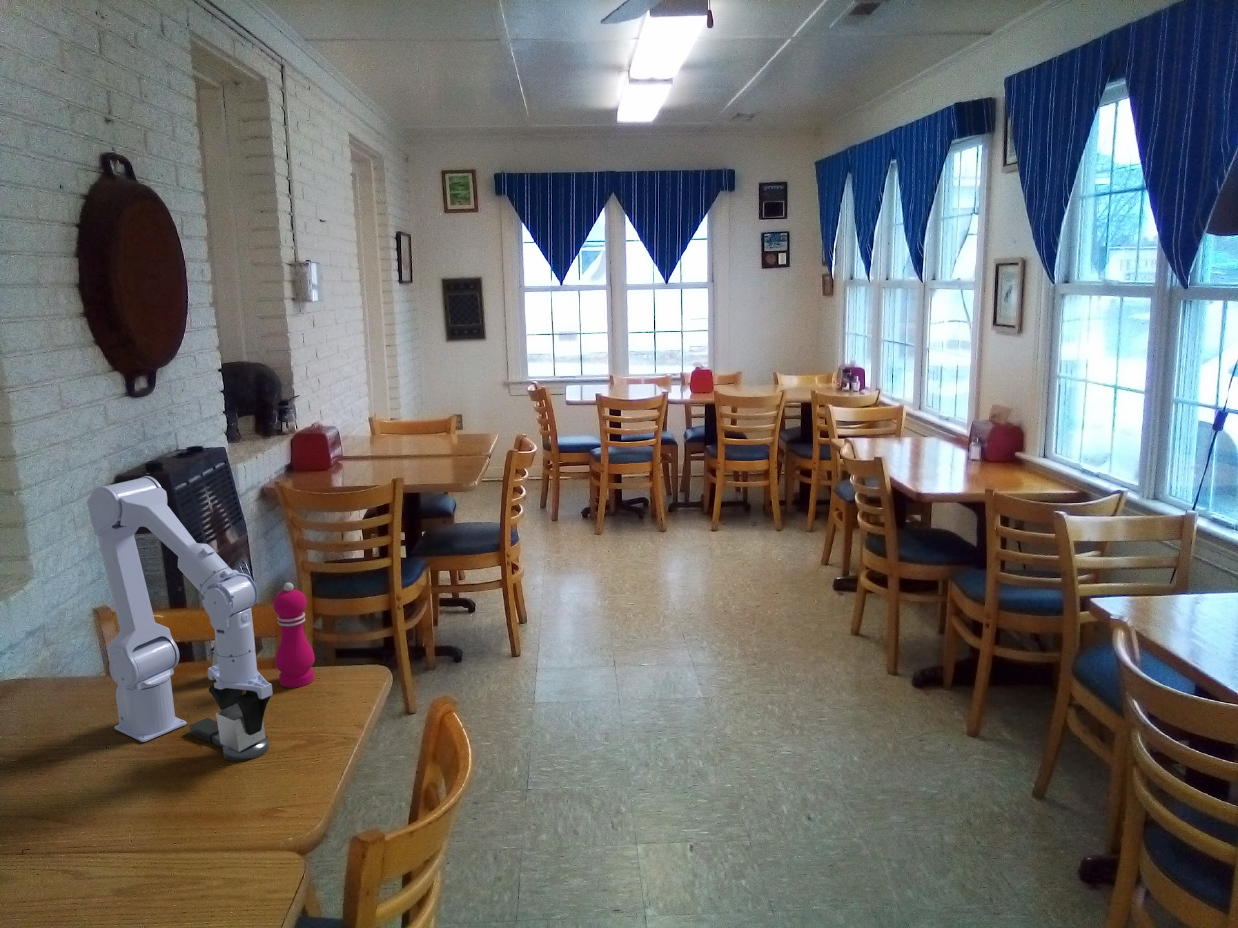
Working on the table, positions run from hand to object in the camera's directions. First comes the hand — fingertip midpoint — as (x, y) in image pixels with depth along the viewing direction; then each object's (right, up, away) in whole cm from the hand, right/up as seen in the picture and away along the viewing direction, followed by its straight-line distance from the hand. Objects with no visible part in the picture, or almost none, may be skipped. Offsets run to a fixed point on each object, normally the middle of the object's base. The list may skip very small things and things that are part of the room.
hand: (244, 728), depth 152 cm
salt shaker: (-15, +1, +30) cm, 33 cm away
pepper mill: (-1, +1, +27) cm, 28 cm away
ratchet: (-4, -3, +4) cm, 7 cm away
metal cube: (0, -2, 0) cm, 2 cm away
